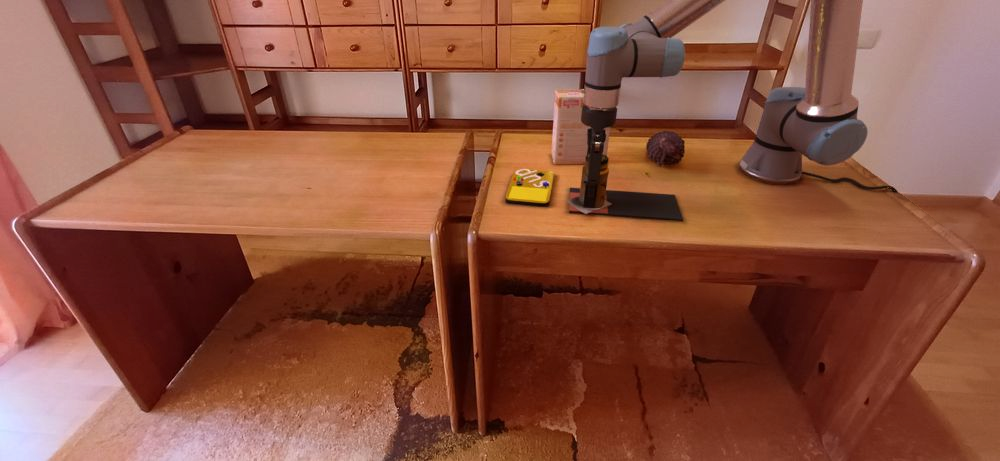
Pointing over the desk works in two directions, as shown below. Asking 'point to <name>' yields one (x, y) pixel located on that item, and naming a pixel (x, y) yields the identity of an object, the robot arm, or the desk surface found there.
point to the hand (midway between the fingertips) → (588, 198)
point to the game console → (530, 188)
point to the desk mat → (635, 205)
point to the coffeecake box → (570, 129)
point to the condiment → (601, 189)
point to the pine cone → (666, 148)
